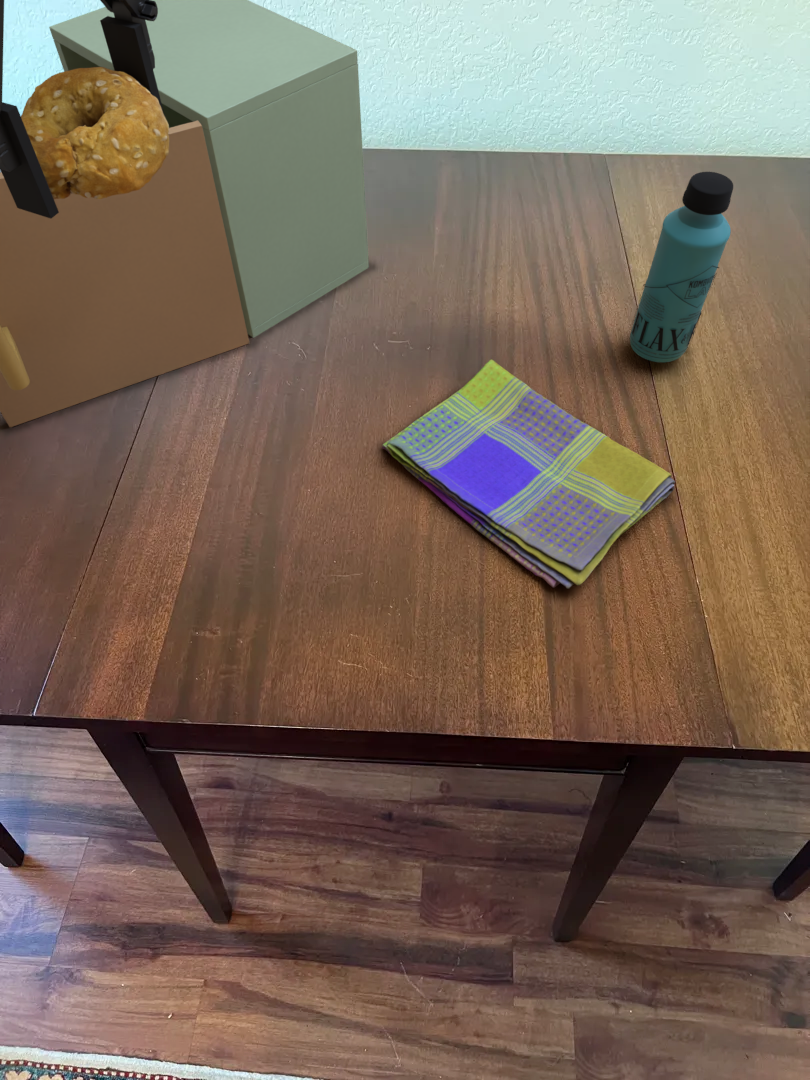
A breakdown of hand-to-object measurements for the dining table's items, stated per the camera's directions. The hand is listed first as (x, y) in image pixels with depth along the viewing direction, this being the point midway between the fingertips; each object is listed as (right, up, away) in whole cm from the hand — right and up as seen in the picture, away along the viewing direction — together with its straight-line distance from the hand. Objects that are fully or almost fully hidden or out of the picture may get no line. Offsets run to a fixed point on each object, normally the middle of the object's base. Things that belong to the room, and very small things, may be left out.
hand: (96, 165), depth 52 cm
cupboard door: (-7, -10, +30) cm, 32 cm away
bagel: (0, 0, 0) cm, 0 cm away
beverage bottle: (+48, -5, +34) cm, 59 cm away
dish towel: (+32, -19, +24) cm, 45 cm away
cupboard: (+1, +10, +45) cm, 46 cm away
